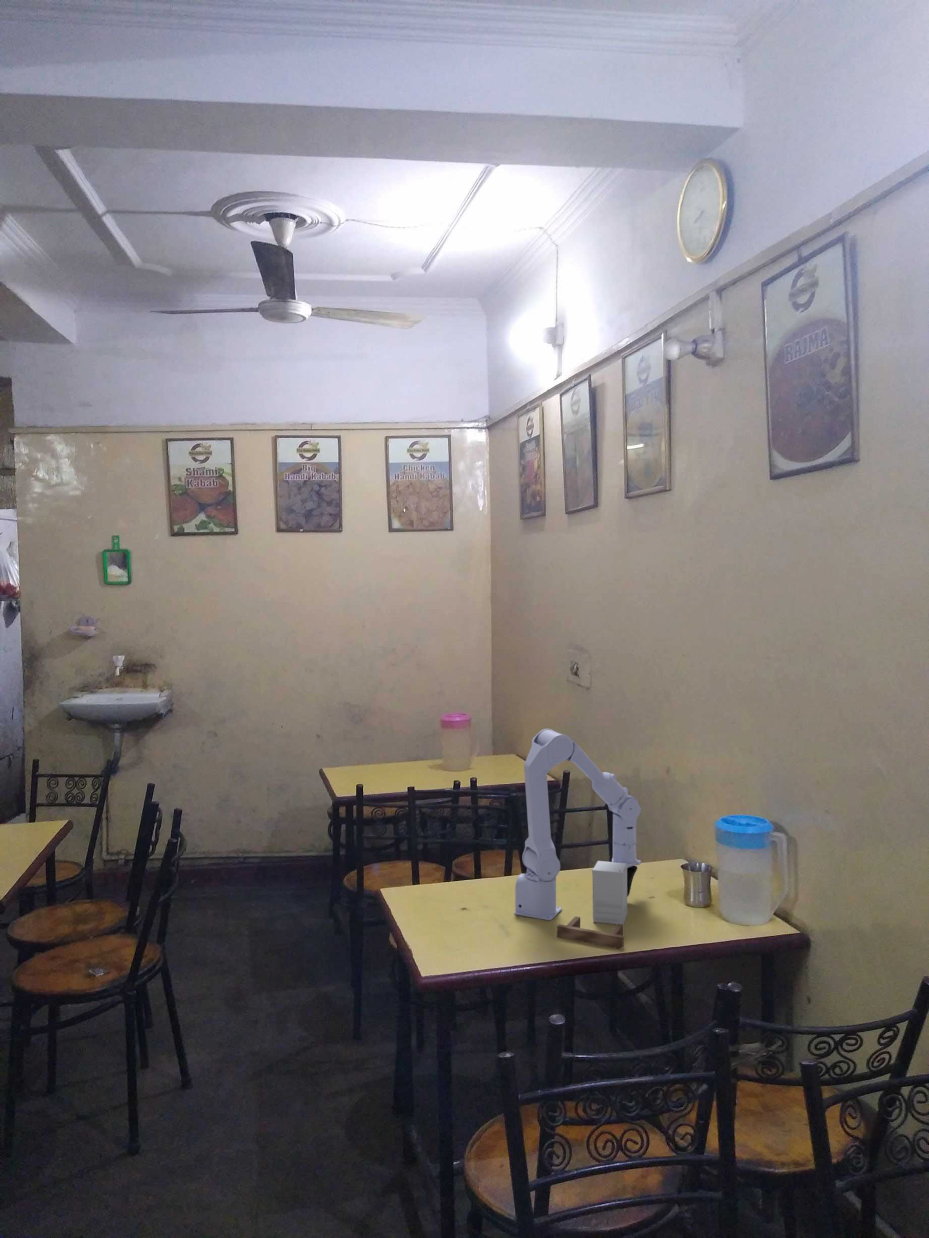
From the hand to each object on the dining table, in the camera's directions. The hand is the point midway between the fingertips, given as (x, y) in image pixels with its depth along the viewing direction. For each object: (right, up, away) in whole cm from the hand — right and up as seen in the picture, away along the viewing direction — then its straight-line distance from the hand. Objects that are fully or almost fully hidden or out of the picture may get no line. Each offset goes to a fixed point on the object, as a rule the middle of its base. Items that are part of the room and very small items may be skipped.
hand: (624, 895), depth 223 cm
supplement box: (-5, -2, -10) cm, 12 cm away
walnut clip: (-11, -3, -21) cm, 24 cm away
